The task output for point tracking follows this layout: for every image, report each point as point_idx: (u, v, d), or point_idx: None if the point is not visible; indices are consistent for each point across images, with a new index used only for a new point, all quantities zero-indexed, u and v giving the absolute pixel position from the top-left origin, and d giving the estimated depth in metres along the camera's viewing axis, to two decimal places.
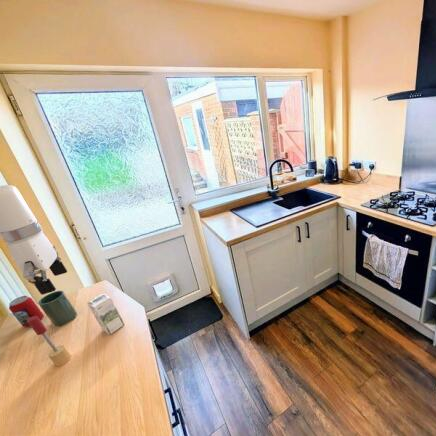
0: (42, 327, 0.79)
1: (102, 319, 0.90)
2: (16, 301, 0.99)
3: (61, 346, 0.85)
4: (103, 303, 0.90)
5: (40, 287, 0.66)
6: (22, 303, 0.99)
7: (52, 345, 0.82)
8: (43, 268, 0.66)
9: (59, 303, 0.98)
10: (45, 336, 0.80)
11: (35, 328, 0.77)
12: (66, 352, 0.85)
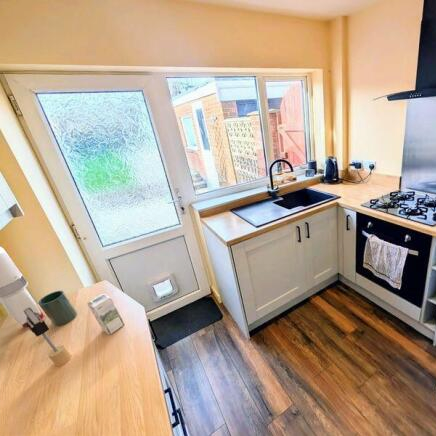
0: None
1: (102, 319, 0.90)
2: None
3: (61, 346, 0.85)
4: (103, 303, 0.90)
5: (38, 329, 0.77)
6: None
7: (52, 345, 0.82)
8: (39, 312, 0.75)
9: (59, 303, 0.98)
10: (45, 336, 0.80)
11: None
12: (66, 352, 0.85)
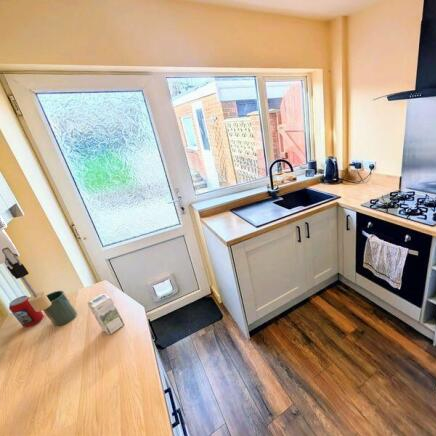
0: None
1: (102, 319, 0.90)
2: (16, 301, 0.99)
3: (41, 293, 0.88)
4: (103, 303, 0.90)
5: (17, 271, 0.80)
6: (22, 303, 0.99)
7: (32, 290, 0.85)
8: (18, 253, 0.78)
9: (59, 303, 0.98)
10: (25, 280, 0.83)
11: None
12: (46, 299, 0.88)
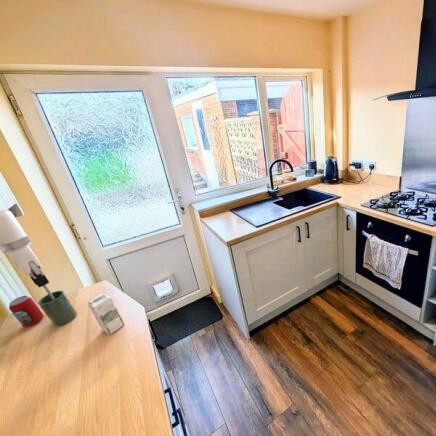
0: None
1: (102, 319, 0.90)
2: (16, 301, 0.99)
3: None
4: (103, 303, 0.90)
5: (39, 280, 0.93)
6: (22, 303, 0.99)
7: (52, 296, 0.99)
8: (41, 266, 0.92)
9: (59, 303, 0.98)
10: (46, 288, 0.97)
11: None
12: None
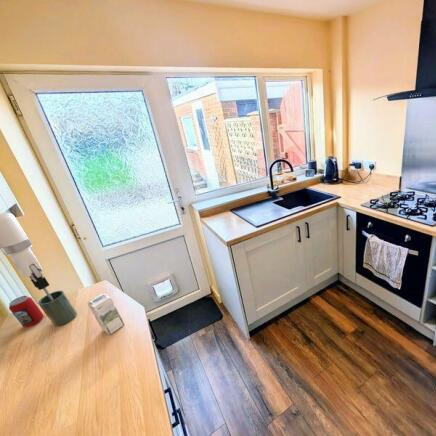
0: None
1: (102, 319, 0.90)
2: (16, 301, 0.99)
3: None
4: (103, 303, 0.90)
5: (40, 283, 0.94)
6: (22, 303, 0.99)
7: (51, 299, 0.99)
8: (41, 268, 0.92)
9: (59, 303, 0.98)
10: (46, 291, 0.97)
11: None
12: None
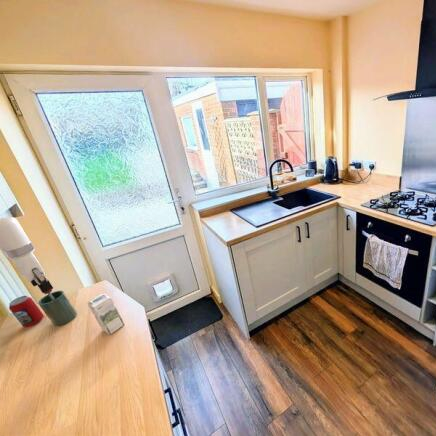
0: None
1: (102, 319, 0.90)
2: (16, 301, 0.99)
3: None
4: (103, 303, 0.90)
5: (44, 286, 0.92)
6: (22, 303, 0.99)
7: None
8: (44, 272, 0.93)
9: (59, 303, 0.98)
10: (51, 296, 0.99)
11: None
12: None
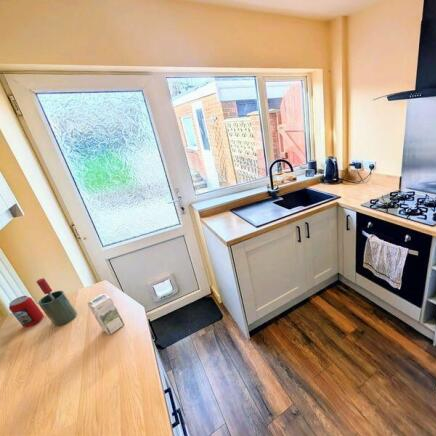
0: (48, 288, 0.97)
1: (102, 319, 0.90)
2: (16, 301, 0.99)
3: None
4: (103, 303, 0.90)
5: None
6: (22, 303, 0.99)
7: None
8: None
9: (59, 303, 0.98)
10: (51, 296, 0.99)
11: (43, 288, 0.96)
12: None
